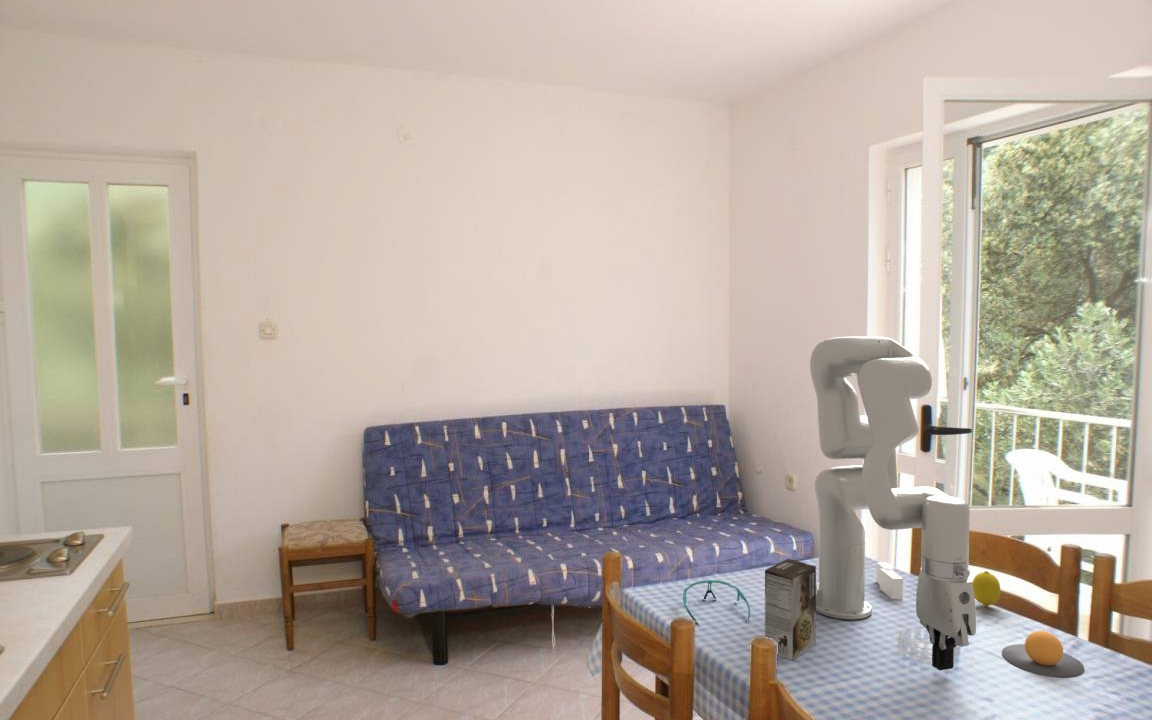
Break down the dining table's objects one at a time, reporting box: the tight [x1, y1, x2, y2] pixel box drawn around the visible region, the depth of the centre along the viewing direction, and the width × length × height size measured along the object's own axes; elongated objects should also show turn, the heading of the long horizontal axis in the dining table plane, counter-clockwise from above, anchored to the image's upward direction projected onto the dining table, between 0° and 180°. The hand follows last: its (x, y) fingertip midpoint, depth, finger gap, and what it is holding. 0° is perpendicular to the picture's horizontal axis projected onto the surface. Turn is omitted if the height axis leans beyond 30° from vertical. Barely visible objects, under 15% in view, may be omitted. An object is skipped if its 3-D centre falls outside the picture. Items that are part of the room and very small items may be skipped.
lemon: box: [972, 570, 1001, 608], centre depth 164 cm, size 6×6×8 cm
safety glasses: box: [682, 579, 751, 622], centre depth 163 cm, size 14×15×5 cm
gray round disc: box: [1001, 643, 1085, 678], centre depth 139 cm, size 13×13×1 cm
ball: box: [1024, 630, 1064, 666], centre depth 137 cm, size 6×6×6 cm
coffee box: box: [764, 558, 817, 661], centre depth 144 cm, size 9×6×16 cm
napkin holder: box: [875, 561, 904, 600], centre depth 175 cm, size 15×11×6 cm
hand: (942, 667), depth 133 cm, fingers closed
